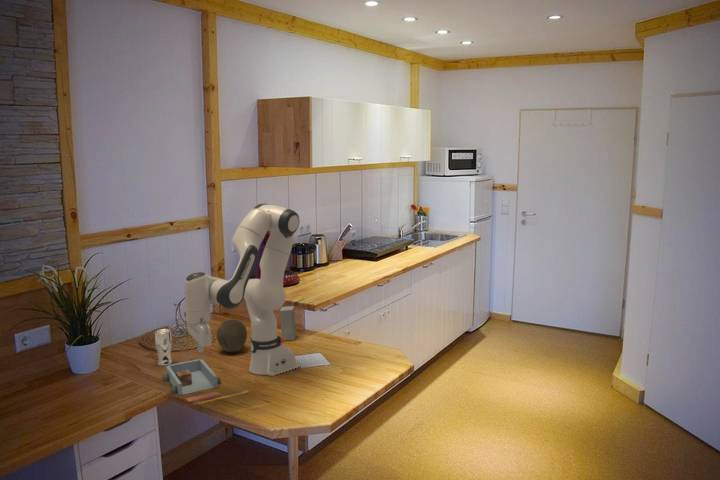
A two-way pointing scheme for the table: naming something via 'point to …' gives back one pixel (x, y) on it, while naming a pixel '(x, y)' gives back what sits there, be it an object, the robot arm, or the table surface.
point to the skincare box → (288, 323)
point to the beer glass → (163, 346)
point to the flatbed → (200, 377)
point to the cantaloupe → (232, 335)
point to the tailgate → (202, 396)
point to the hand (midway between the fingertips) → (200, 350)
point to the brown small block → (184, 377)
